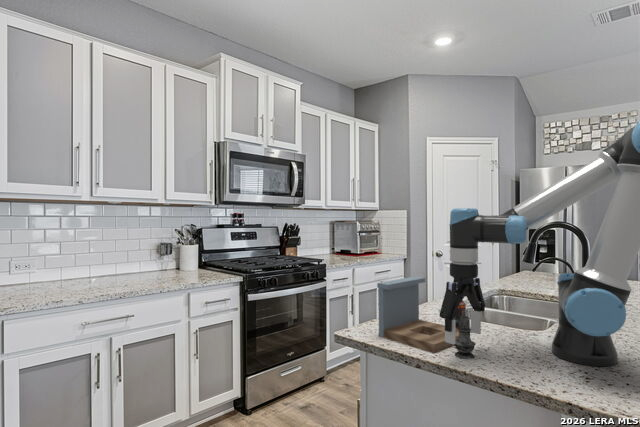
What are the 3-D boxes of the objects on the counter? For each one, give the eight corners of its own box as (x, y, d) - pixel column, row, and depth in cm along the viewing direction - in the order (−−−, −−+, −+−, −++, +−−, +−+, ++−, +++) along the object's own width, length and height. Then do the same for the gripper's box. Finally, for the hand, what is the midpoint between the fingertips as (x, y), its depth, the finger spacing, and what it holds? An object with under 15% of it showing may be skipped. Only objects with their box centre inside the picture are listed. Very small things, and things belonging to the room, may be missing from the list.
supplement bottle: (466, 326, 138) (466, 294, 138) (465, 330, 133) (465, 297, 133) (449, 324, 141) (449, 293, 141) (447, 328, 135) (446, 296, 135)
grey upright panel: (425, 327, 137) (425, 277, 137) (388, 339, 124) (387, 284, 124) (415, 324, 140) (414, 276, 140) (377, 336, 127) (377, 283, 127)
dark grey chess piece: (477, 359, 106) (477, 316, 106) (455, 358, 107) (454, 315, 107) (473, 352, 112) (473, 310, 112) (452, 351, 113) (451, 309, 113)
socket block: (469, 339, 124) (468, 331, 124) (434, 353, 112) (434, 344, 112) (419, 326, 138) (419, 319, 138) (383, 337, 126) (383, 329, 126)
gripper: (473, 258, 121) (473, 326, 121) (426, 265, 105) (425, 343, 105) (497, 260, 115) (497, 332, 115) (451, 268, 99) (450, 351, 99)
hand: (463, 338), depth 110 cm, fingers open, 13 cm apart
